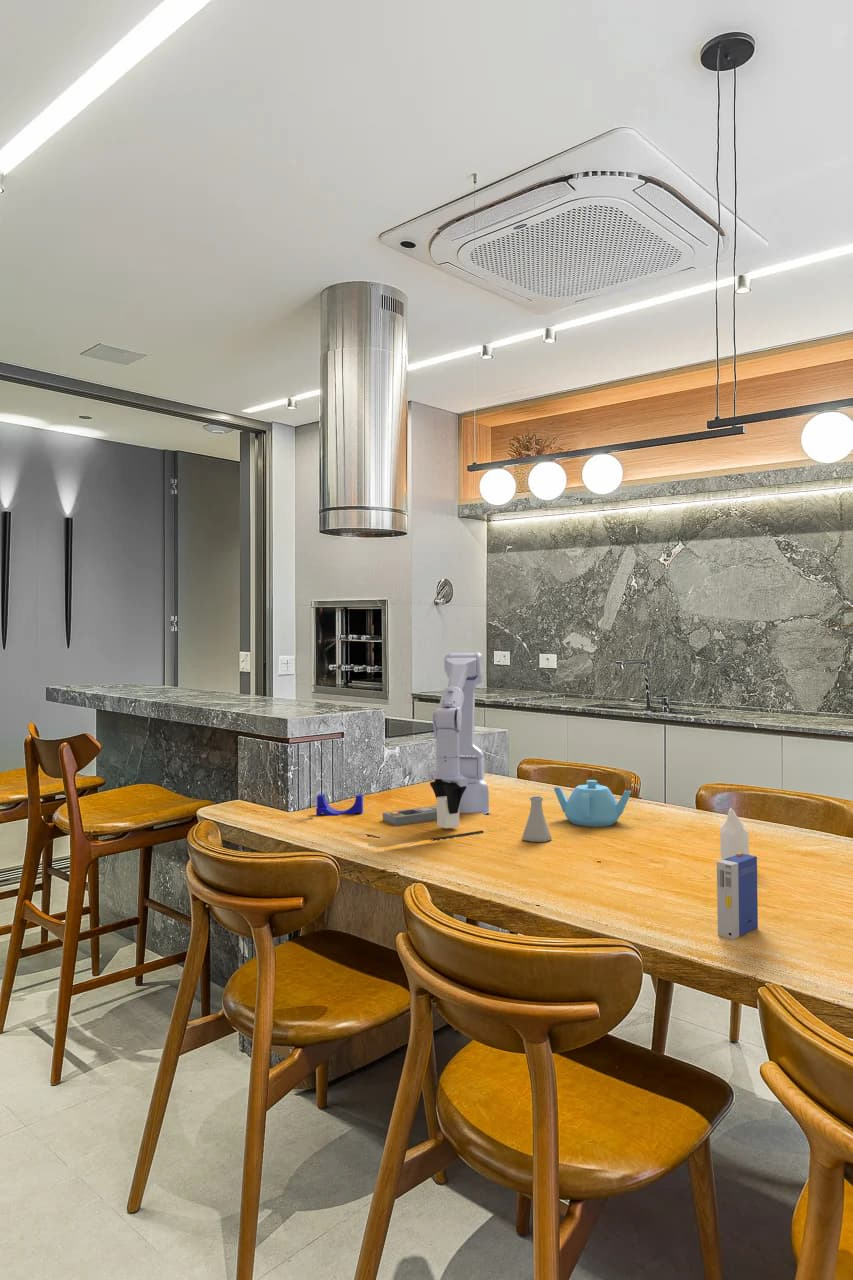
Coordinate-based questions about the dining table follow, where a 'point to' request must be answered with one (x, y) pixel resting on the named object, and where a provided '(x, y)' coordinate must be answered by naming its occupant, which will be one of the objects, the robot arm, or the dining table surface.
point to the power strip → (411, 815)
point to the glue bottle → (733, 837)
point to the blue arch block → (328, 811)
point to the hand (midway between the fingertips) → (448, 811)
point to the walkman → (737, 895)
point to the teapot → (592, 805)
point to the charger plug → (446, 814)
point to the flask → (536, 823)
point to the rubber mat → (459, 835)
